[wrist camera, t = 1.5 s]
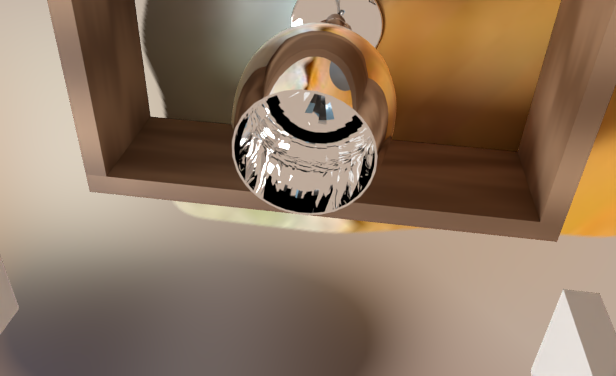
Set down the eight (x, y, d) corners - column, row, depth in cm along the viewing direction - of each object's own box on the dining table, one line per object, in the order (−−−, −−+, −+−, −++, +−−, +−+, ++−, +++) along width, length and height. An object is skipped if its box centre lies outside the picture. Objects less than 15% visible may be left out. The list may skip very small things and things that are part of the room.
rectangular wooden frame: (90, -155, 25) (16, -139, 20) (624, -125, 23) (684, -99, 18) (135, 130, 33) (89, 191, 28) (531, 169, 31) (556, 241, 26)
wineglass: (260, -17, 27) (184, 97, 18) (380, -54, 26) (369, 49, 16) (299, 92, 30) (252, 240, 20) (408, 65, 29) (414, 212, 19)
